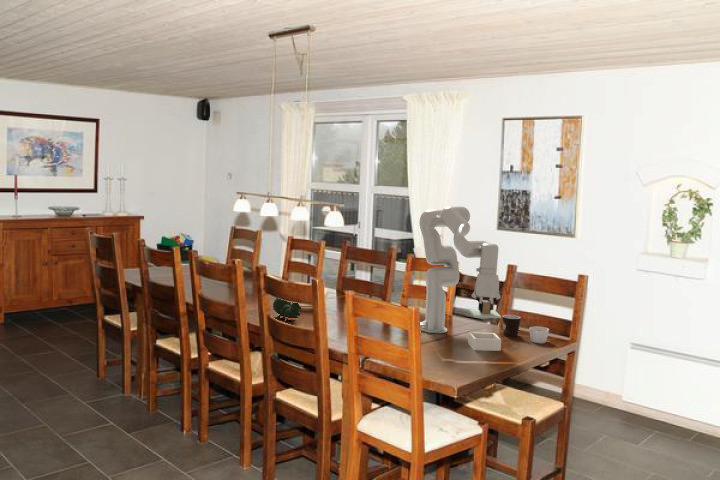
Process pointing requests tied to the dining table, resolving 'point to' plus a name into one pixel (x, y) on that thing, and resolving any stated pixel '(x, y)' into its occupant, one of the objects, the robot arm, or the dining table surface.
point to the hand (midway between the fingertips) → (484, 311)
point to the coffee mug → (511, 325)
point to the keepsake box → (484, 341)
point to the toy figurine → (286, 308)
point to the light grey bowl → (538, 334)
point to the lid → (485, 311)
